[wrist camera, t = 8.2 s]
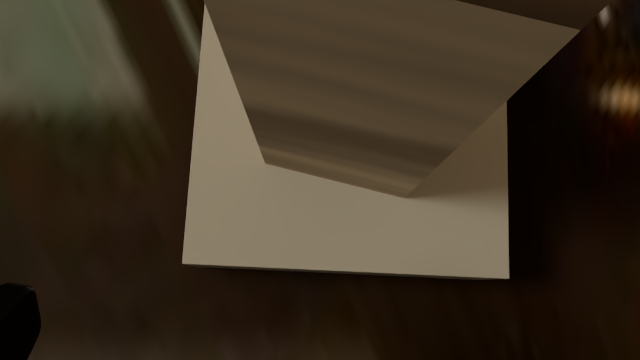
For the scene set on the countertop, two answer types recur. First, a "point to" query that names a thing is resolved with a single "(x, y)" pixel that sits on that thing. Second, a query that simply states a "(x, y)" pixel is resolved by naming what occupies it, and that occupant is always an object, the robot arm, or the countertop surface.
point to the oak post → (383, 77)
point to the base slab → (337, 202)
